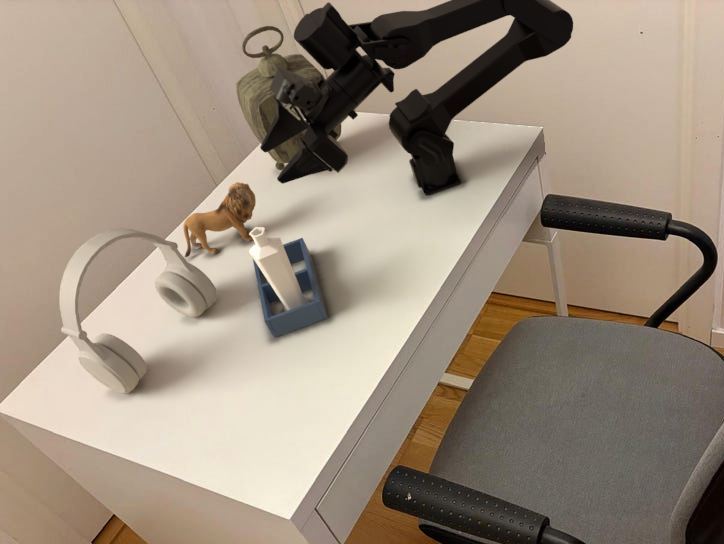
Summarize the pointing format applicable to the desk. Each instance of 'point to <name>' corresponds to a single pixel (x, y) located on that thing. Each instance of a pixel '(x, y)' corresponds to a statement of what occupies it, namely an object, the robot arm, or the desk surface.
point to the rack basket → (306, 281)
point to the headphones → (107, 352)
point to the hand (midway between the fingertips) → (270, 165)
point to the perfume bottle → (276, 268)
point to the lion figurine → (222, 218)
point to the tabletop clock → (271, 93)
